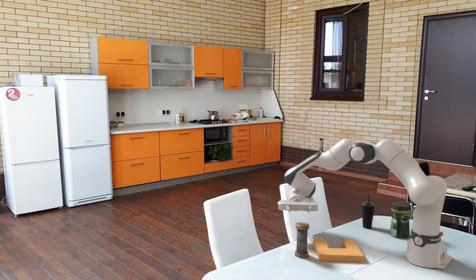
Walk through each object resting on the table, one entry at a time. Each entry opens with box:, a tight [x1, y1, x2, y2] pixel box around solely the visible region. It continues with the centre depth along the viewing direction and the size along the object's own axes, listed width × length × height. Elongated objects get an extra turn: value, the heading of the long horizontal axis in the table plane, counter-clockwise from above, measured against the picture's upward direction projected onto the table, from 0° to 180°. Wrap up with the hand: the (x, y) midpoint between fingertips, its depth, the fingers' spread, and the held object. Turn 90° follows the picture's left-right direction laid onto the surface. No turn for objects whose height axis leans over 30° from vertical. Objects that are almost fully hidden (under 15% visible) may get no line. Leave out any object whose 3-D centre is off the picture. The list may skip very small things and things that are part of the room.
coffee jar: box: [389, 201, 412, 239], centre depth 208 cm, size 10×8×19 cm
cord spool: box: [294, 221, 310, 259], centre depth 182 cm, size 6×6×15 cm
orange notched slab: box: [312, 237, 365, 263], centre depth 186 cm, size 20×20×3 cm
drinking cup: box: [360, 192, 376, 230], centre depth 220 cm, size 8×8×20 cm
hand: (299, 210), depth 193 cm, fingers open, 8 cm apart
